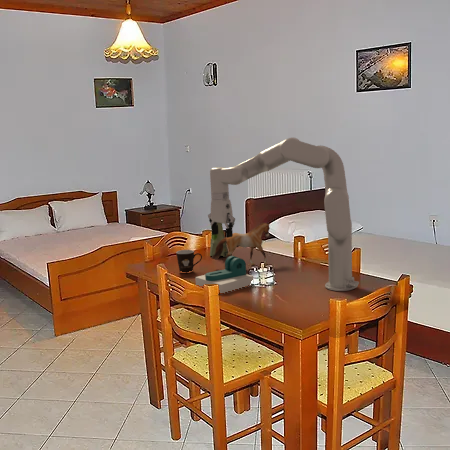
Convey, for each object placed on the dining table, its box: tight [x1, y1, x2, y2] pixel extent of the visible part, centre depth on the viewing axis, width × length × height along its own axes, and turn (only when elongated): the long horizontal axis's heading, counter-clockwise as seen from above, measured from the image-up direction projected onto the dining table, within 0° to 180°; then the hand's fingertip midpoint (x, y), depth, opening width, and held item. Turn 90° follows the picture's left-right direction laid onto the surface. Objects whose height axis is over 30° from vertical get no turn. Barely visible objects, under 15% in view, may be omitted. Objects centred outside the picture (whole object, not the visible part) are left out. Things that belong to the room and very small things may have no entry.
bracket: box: [204, 255, 247, 281], centre depth 243 cm, size 18×7×8 cm, turn 119°
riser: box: [194, 273, 254, 294], centre depth 244 cm, size 18×18×4 cm
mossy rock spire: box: [209, 223, 229, 258], centre depth 298 cm, size 11×12×25 cm
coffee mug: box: [175, 249, 203, 272], centre depth 270 cm, size 12×9×10 cm
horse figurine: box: [210, 222, 271, 266], centre depth 274 cm, size 31×8×21 cm, turn 105°
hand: (222, 235), depth 241 cm, fingers open, 9 cm apart
